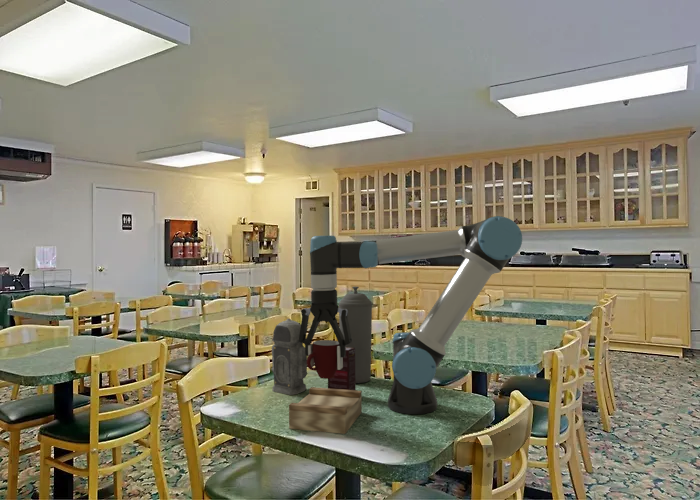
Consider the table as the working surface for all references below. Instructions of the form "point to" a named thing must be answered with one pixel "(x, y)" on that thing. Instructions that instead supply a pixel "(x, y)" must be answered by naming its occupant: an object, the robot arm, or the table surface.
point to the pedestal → (326, 410)
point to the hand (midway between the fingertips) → (325, 367)
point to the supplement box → (345, 373)
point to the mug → (324, 358)
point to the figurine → (288, 359)
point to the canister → (359, 331)
